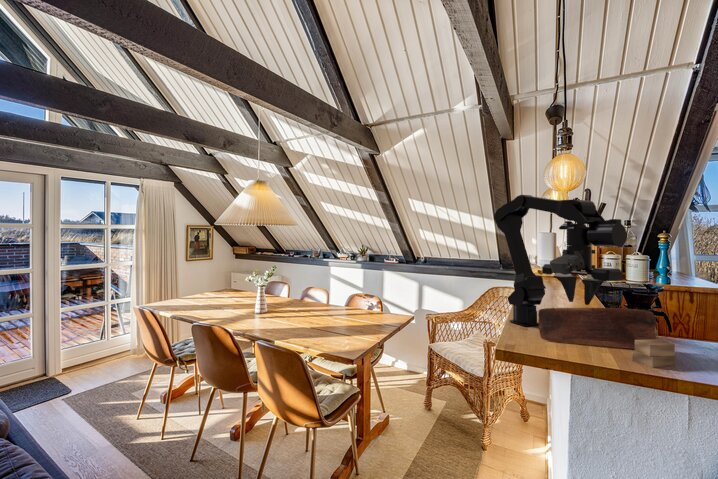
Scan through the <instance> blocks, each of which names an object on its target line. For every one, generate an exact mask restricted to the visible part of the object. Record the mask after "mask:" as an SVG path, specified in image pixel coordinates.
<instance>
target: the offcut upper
mask: <svg viewBox="0 0 718 479" xmlns="http://www.w3.org/2000/svg"><path fill="white" fill-rule="evenodd" d="M675 345H676V344H675V343H672V342H669V341H666V340H662V339H660V338H657V339H648V340H635V349H634V351H636V352H639V353H642V354H645V355H647V356H675V357H676V354H675V350H676V349H675V347H676V346H675Z"/></svg>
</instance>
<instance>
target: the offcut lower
mask: <svg viewBox="0 0 718 479" xmlns="http://www.w3.org/2000/svg"><path fill="white" fill-rule="evenodd" d="M631 354H632V356H631V357H632V358H631V359H632V362H635V363H638V364H640V365H644V366H647V367H650V368H658V367H659V368H660V367H665V366H669V365H670V366H671V365H675V363H676V355H675V356H647V355H645V354H642V353H639V352H636V351H635V350H633V351H632V353H631Z"/></svg>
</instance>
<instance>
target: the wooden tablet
mask: <svg viewBox="0 0 718 479" xmlns="http://www.w3.org/2000/svg"><path fill="white" fill-rule="evenodd" d="M537 317H538V319H537V322H538V323H539V325H538V326H539V327H538V329H539V330H538V331H539V335H540V338H541V339H542V340H544V341H547V342H553V343H562V344H575V345H589V346H599V347H600V346H601V347H609V348H610V347H611V348H622V349H623V348H624V349H625V348H626V349H634V350H635V340H648V339H658V337H657V336H656V333H655V331H656V328H657V320H656V319H657V318H656V315H655V314H654V313H653V311H651V310H643V309H636V308H634V309H633V308H620V307H619V308H618V307H617V308H616V307H613V308H612V307H556V308H555V307H548V308H545V307H544V308H540V309H539V310H538V311H537Z"/></svg>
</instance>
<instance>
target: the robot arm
mask: <svg viewBox="0 0 718 479" xmlns="http://www.w3.org/2000/svg"><path fill="white" fill-rule="evenodd" d="M531 209H532V210H537V211H541V212H547V213H553V214H554V215H556V216H558V217H559V218H560V219H561V218H562V219H564V220H566V221H564V223H563V224H561V225H560V226H559V227H558V229H559V230H561V231H562V230H566V249H562V252H561V253H562V255H561V256H558V257H556V258H554V259H552V260H550V261H549V263H545V264H544V265H543V266H542V268H541V270H542V272H541V274H543V275H544V274H545V275H553V274H554V275H553V278H555V279H557V281H559V282H560V283H561V285H562V287H563V290H564V292H565V294H566V297H567V300H568V302H569V303H573V302H574V300H575V296H576V295H575V293H576V287H577V286H576V285H577V276H586V279H585V278H582V279H581V282H582V284H583V287H584V288H583V289H584V294H583V297H584V298H583V300H584V305H585V306H589V305H590V304H591V302H592V300H593V299H594V297H595V295H596V293H597V291H598V290H599V289H600V287H601V286H602V285H603V283H607V282H610V281H611V282H612V281H613V282H614V281H623V280H624V278H623V277H624V274H623V272H622V270H621V269H620V268H615V267H614V268H613V267H596V265H595V264H592V262H593V261H592V260H593V257H592V256H593V255H595V254H596V250H595V249H593V247H607V248H608V247H614V248H615V247H616V248H621V247H624V245H625V244H626V243H627V239H628V232H627V229H626V228H625V226H624V225H623V224H622V219H620V218H610V219H608V220H607V219H606V220H605V218H604V217H603V216H602V214H600V212H599V211H598V210H597V206H596V205H595V202H594V201H591V200H589V199H588V200H586V199H582V200H581V199H559V200H558V199H552V198H547V197H539V196H533V195H529V194H519V195H517V196H516V197H514V198H513V199H512V200H510V201H509V202H506V203H504V204H503V205H502V206H501V207H498V208H497V209H496V211H495V213H494V214H493V219H494V221H495V224H496V226H497V228H498V229H499V230H500V231H501V233H503V235H504V237H505V241H506V244H507V247H508V252H509V254H510V258H511V261H512V265H513V268H514V273H515V279H514V282H513V292H511V293H510V295H509V296H508V297H507V301H508V303H509V305H512V308H513V313H512V316H513V317H512V318H513V319H509V323H513V324H516V325H519V326H523V327H532V326H539V323H538V311H537V306H540V305H541V304H542V300H543V299H544V296H545V295H546V290H545V289H546V286H545V284H544V280H543V277H542V276H541V275H536V274H535V273H534V271H533V269H532V266H531V262H530V259H529V255H528V252H527V248H526V245H525V242H524V239H523V235H522V232H521V229H522V227H523V223H524V222H523V218H524V217H525V216H527V214H528V213H529V210H531ZM573 222H575V223H573ZM587 225H588V226H587ZM576 275H577V276H576Z"/></svg>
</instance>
